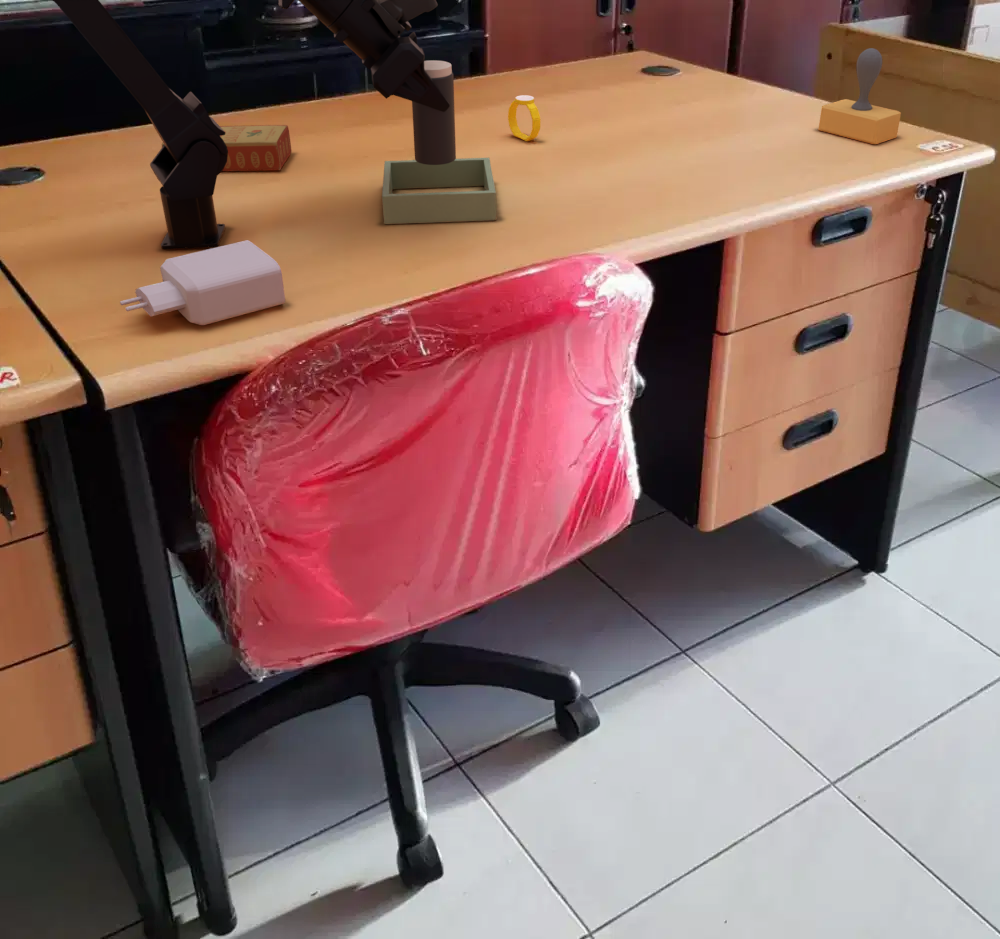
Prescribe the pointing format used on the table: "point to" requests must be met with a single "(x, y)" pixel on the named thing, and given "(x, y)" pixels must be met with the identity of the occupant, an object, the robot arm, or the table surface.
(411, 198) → the box
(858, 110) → the rubber stamp
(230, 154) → the carton
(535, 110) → the watch
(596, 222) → the table surface
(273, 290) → the charger
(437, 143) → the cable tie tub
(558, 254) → the table surface
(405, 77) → the robot arm
